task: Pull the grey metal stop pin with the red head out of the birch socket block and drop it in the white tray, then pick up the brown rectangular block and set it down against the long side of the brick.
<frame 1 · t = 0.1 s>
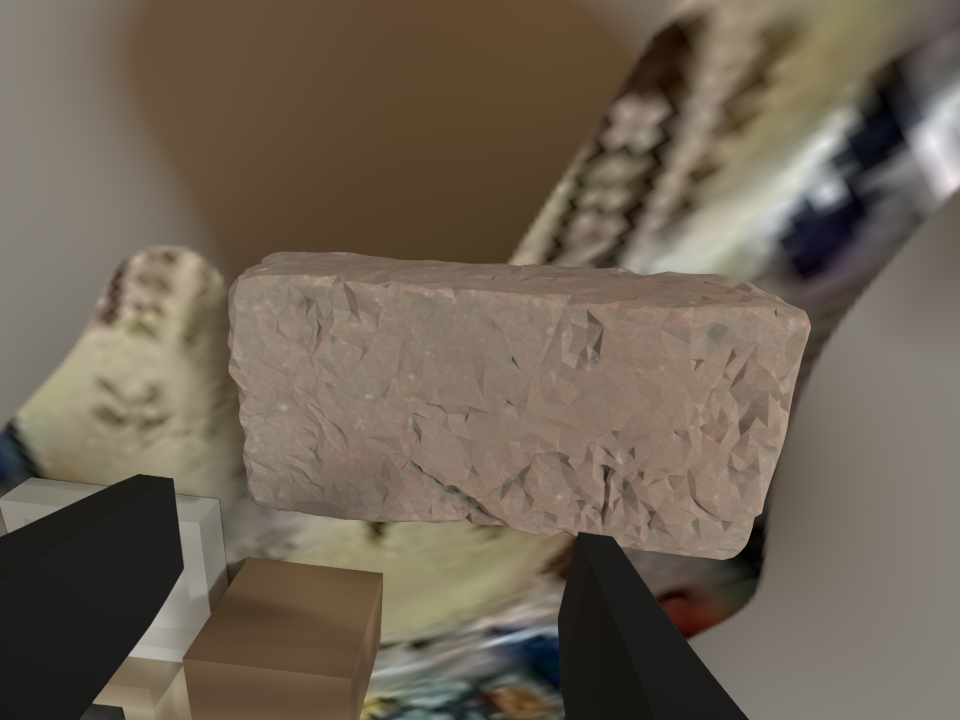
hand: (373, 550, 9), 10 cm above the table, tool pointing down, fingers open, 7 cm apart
socket block: (122, 680, 26), on the table
tray: (138, 562, 23), on the table
brown rectangular block: (316, 598, 23), on the table
brick: (500, 369, 19), on the table
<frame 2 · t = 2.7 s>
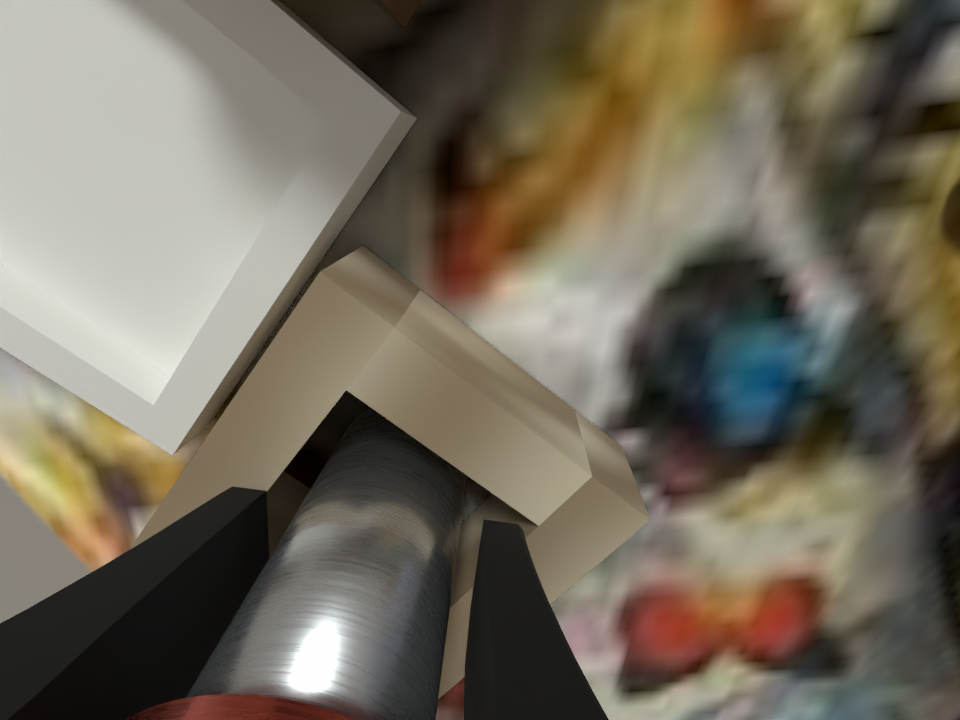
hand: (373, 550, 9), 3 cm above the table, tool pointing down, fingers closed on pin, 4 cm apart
socket block: (404, 461, 12), on the table
tray: (123, 155, 10), on the table
pin: (356, 598, 8), in the socket block, touching gripper
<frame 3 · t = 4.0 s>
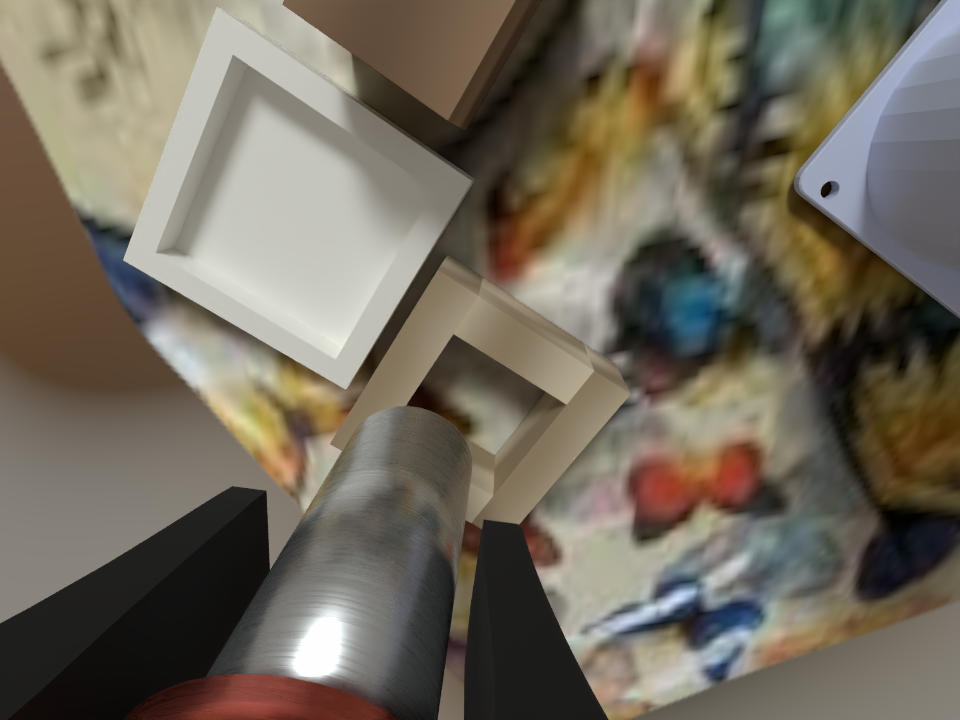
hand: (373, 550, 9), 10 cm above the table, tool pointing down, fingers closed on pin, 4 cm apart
socket block: (478, 387, 19), on the table
tray: (307, 217, 17), on the table
pin: (363, 593, 8), point 11 cm above the table, touching gripper
when the fingers open (5 cm above the table, at t = 5.5 s): pin stays where it is, resting on tray.
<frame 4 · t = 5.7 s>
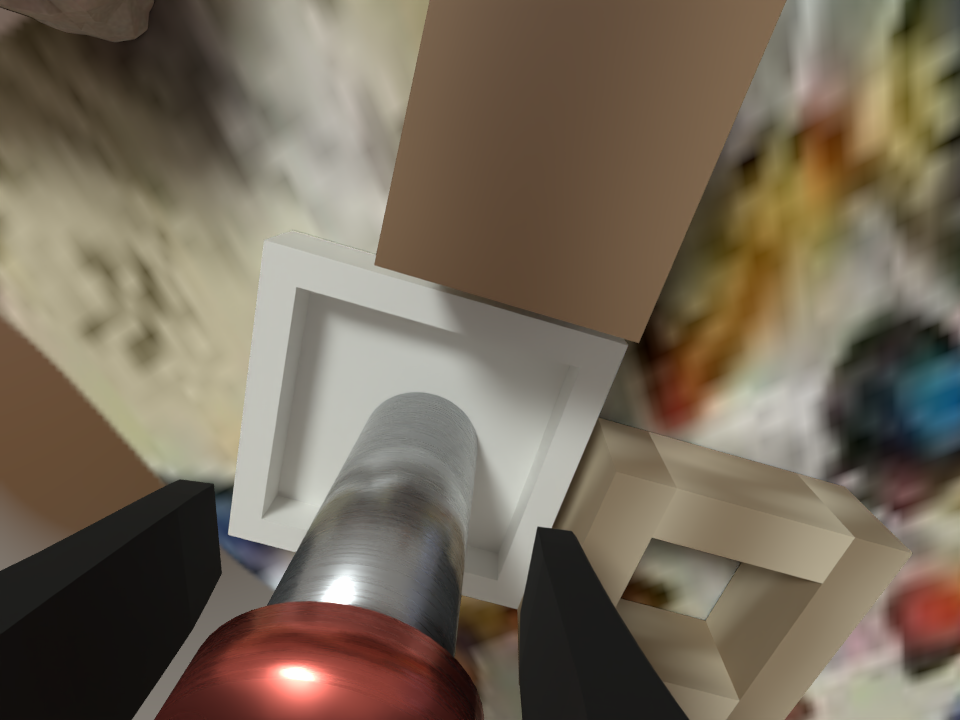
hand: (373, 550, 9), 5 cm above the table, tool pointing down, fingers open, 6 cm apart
socket block: (669, 552, 15), on the table
tray: (418, 420, 14), on the table
brown rectangular block: (550, 112, 11), on the table
pin: (386, 553, 10), in the tray
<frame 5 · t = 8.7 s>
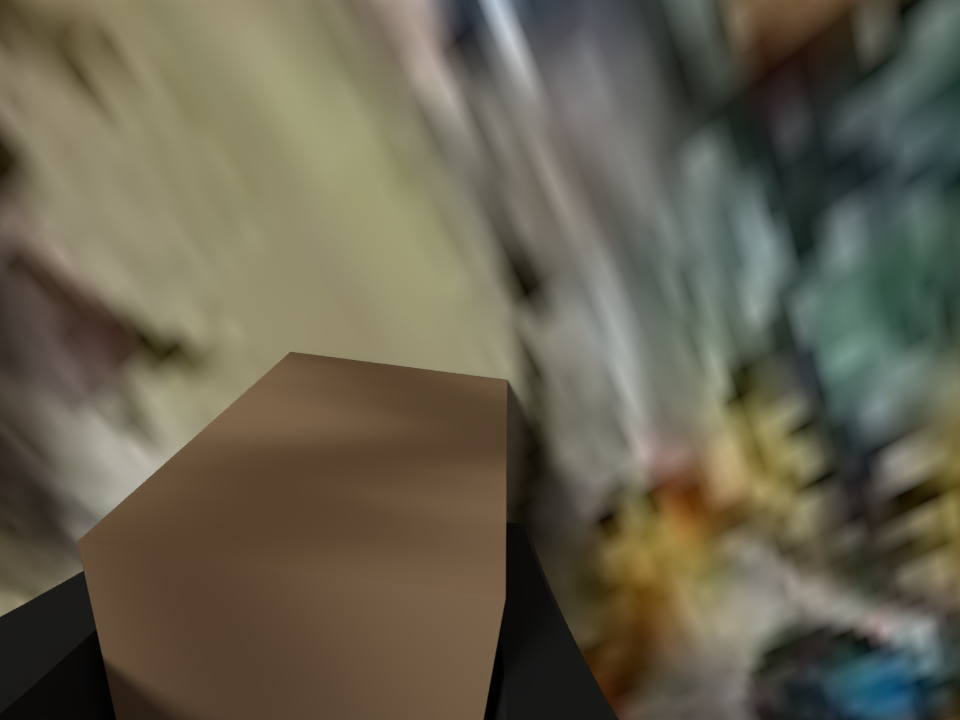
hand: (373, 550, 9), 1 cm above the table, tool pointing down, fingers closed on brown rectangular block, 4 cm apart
brown rectangular block: (390, 500, 11), on the table, touching gripper
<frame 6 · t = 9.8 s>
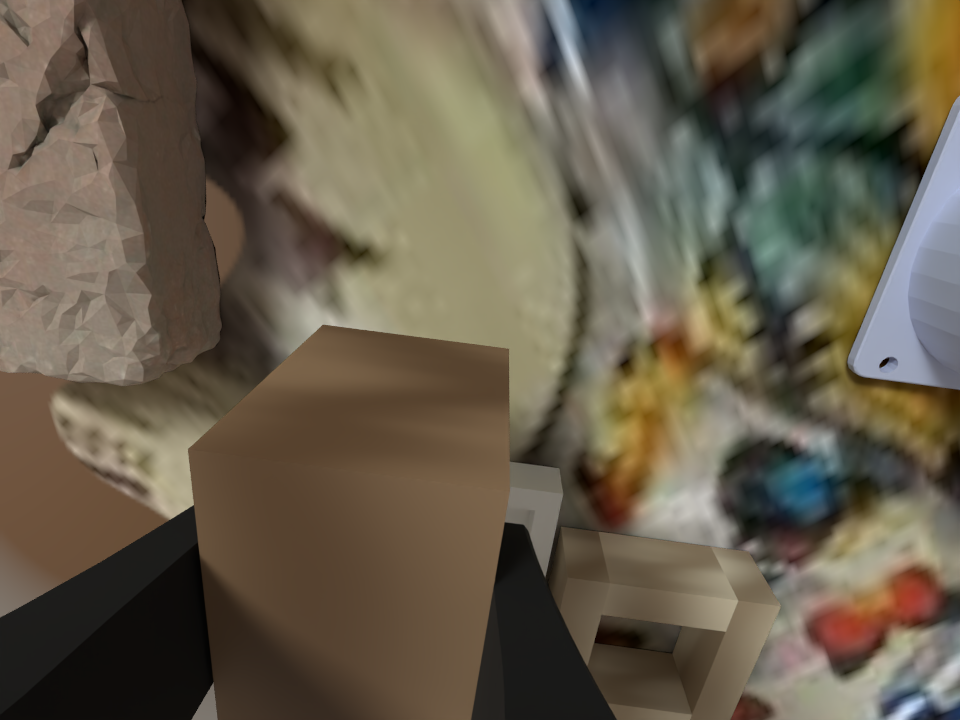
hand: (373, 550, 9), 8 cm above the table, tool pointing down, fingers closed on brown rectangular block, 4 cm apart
socket block: (633, 608, 20), on the table
tray: (437, 542, 20), on the table
brown rectangular block: (406, 456, 12), point 5 cm above the table, touching gripper
brick: (74, 65, 15), on the table
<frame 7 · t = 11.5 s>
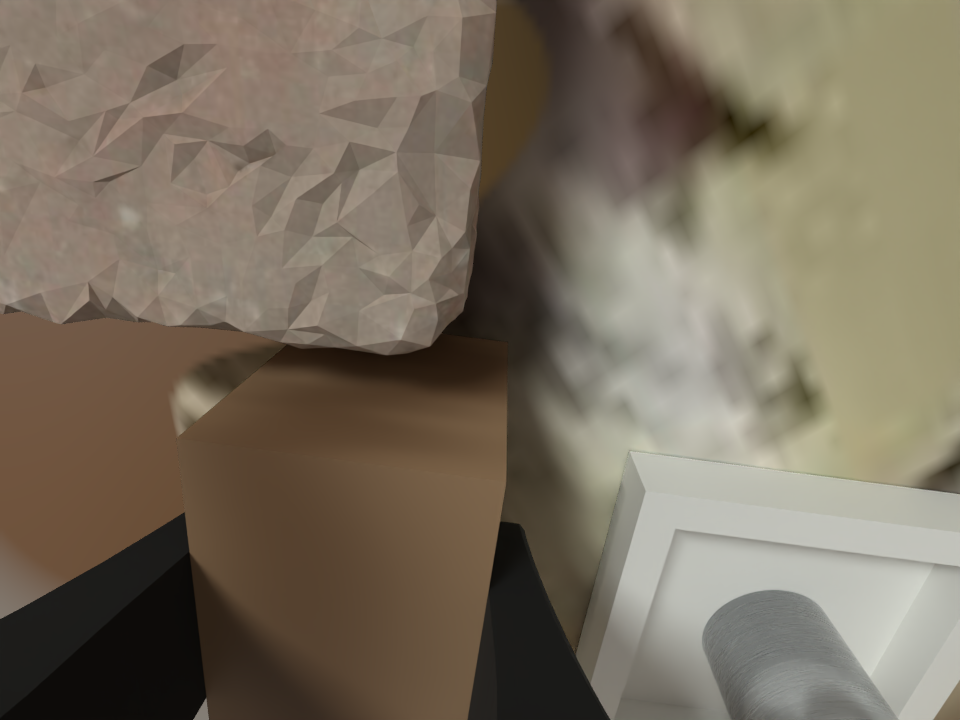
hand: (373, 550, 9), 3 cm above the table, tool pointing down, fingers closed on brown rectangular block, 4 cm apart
tray: (750, 607, 13), on the table
brown rectangular block: (404, 451, 12), on the table, touching gripper
when the fingers open (3 cm above the table, at t = 11.8 s): brown rectangular block stays where it is, on the table.
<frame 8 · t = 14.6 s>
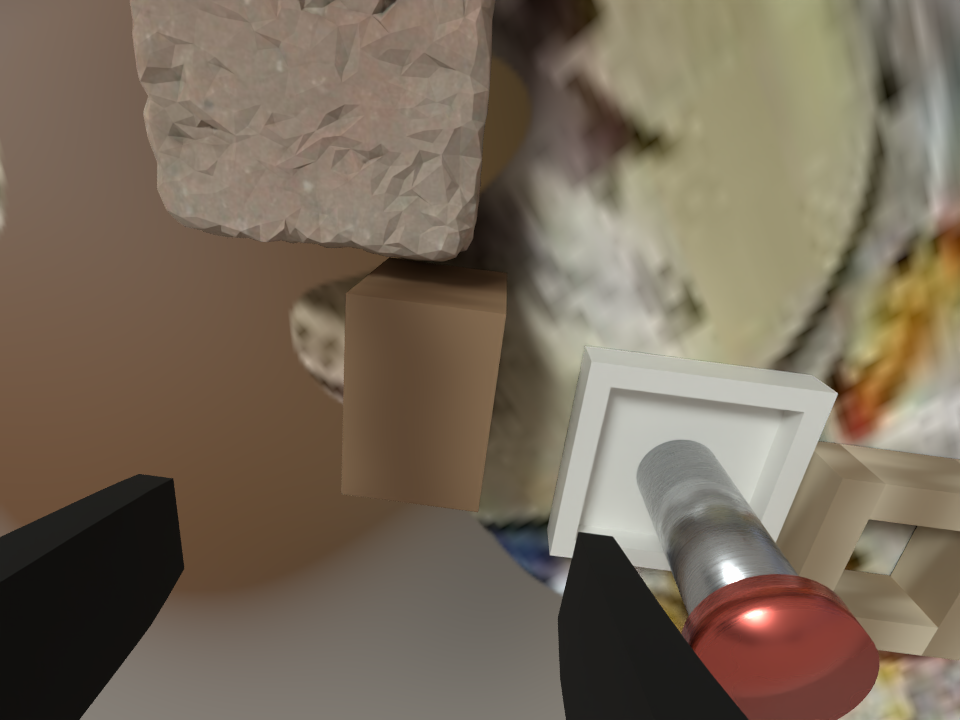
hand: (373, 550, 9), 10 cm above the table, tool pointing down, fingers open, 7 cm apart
socket block: (859, 527, 20), on the table
tray: (669, 457, 19), on the table
brown rectangular block: (440, 347, 18), on the table
pin: (718, 550, 15), in the tray
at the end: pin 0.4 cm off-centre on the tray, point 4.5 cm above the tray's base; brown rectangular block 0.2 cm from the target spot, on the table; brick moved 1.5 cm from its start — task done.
